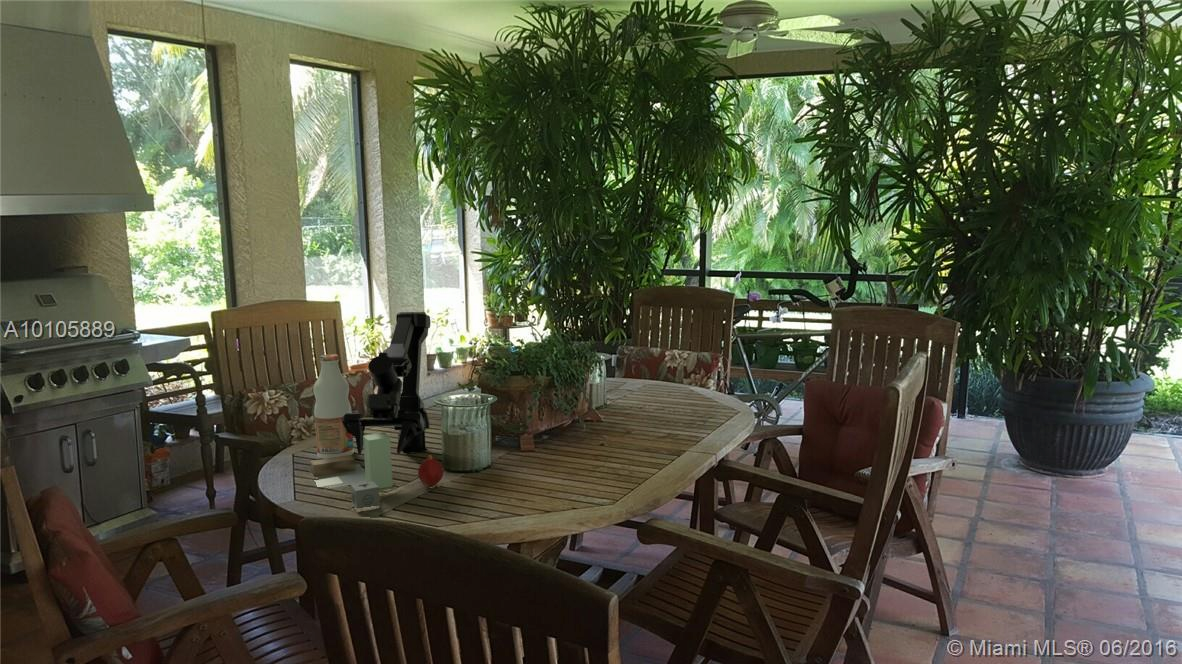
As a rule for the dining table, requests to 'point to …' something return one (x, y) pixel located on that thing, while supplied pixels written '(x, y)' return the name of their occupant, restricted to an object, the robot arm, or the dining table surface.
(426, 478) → the onion
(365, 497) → the dice cube
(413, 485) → the dining table surface
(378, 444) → the post
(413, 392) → the robot arm
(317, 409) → the fruit juice
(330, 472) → the beam
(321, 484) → the board
